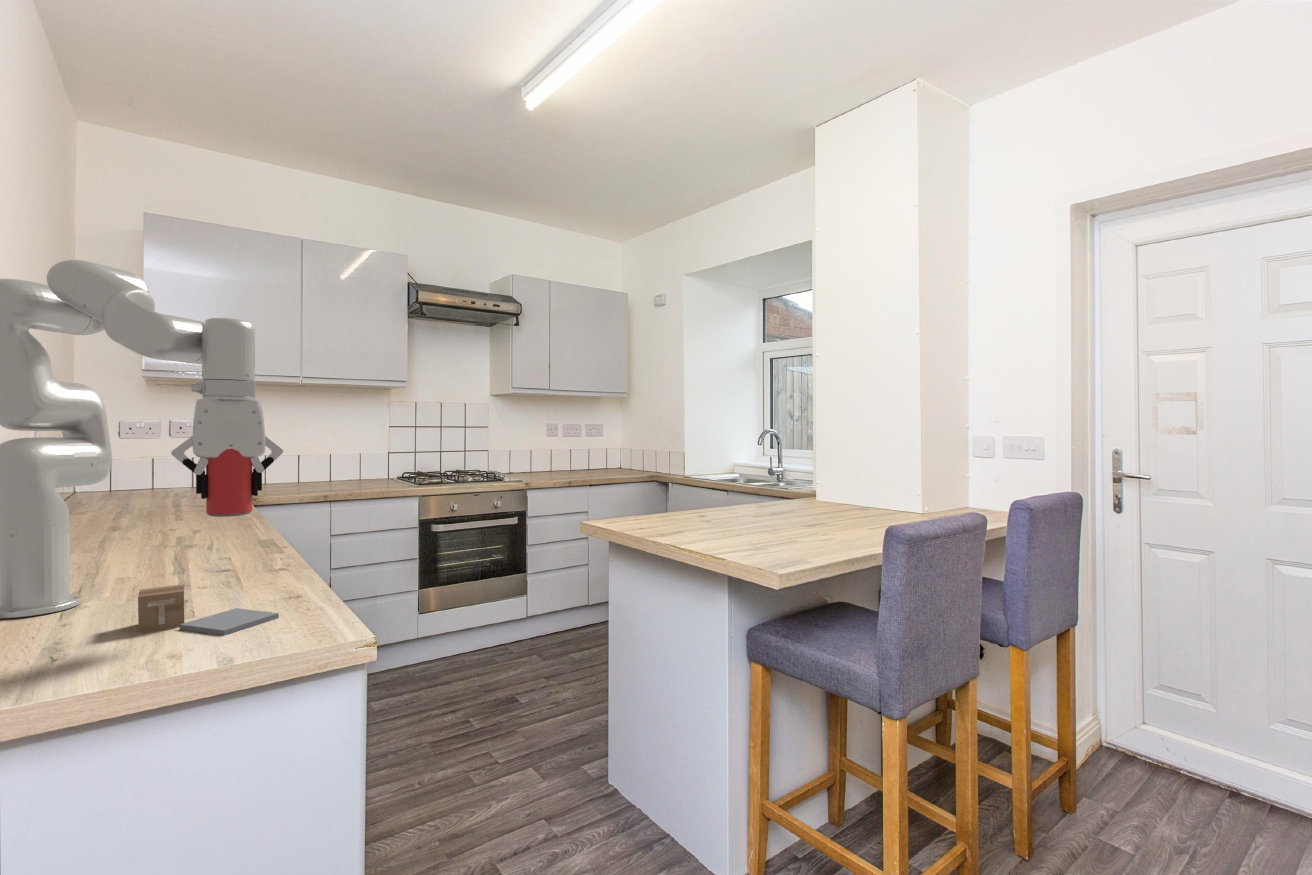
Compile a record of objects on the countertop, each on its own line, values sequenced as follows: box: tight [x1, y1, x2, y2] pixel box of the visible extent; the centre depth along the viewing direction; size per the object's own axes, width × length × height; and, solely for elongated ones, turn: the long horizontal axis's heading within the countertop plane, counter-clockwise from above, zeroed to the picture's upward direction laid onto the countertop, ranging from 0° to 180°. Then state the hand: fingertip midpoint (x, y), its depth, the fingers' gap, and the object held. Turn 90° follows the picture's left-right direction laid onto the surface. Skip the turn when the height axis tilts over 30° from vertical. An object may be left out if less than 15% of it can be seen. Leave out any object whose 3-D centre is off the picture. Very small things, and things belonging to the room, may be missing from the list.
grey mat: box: [179, 607, 279, 636], centre depth 108 cm, size 10×10×1 cm
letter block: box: [137, 583, 185, 634], centre depth 107 cm, size 6×6×6 cm
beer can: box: [205, 445, 253, 518], centre depth 107 cm, size 7×7×12 cm
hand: (229, 495), depth 107 cm, fingers closed on beer can, 6 cm apart
